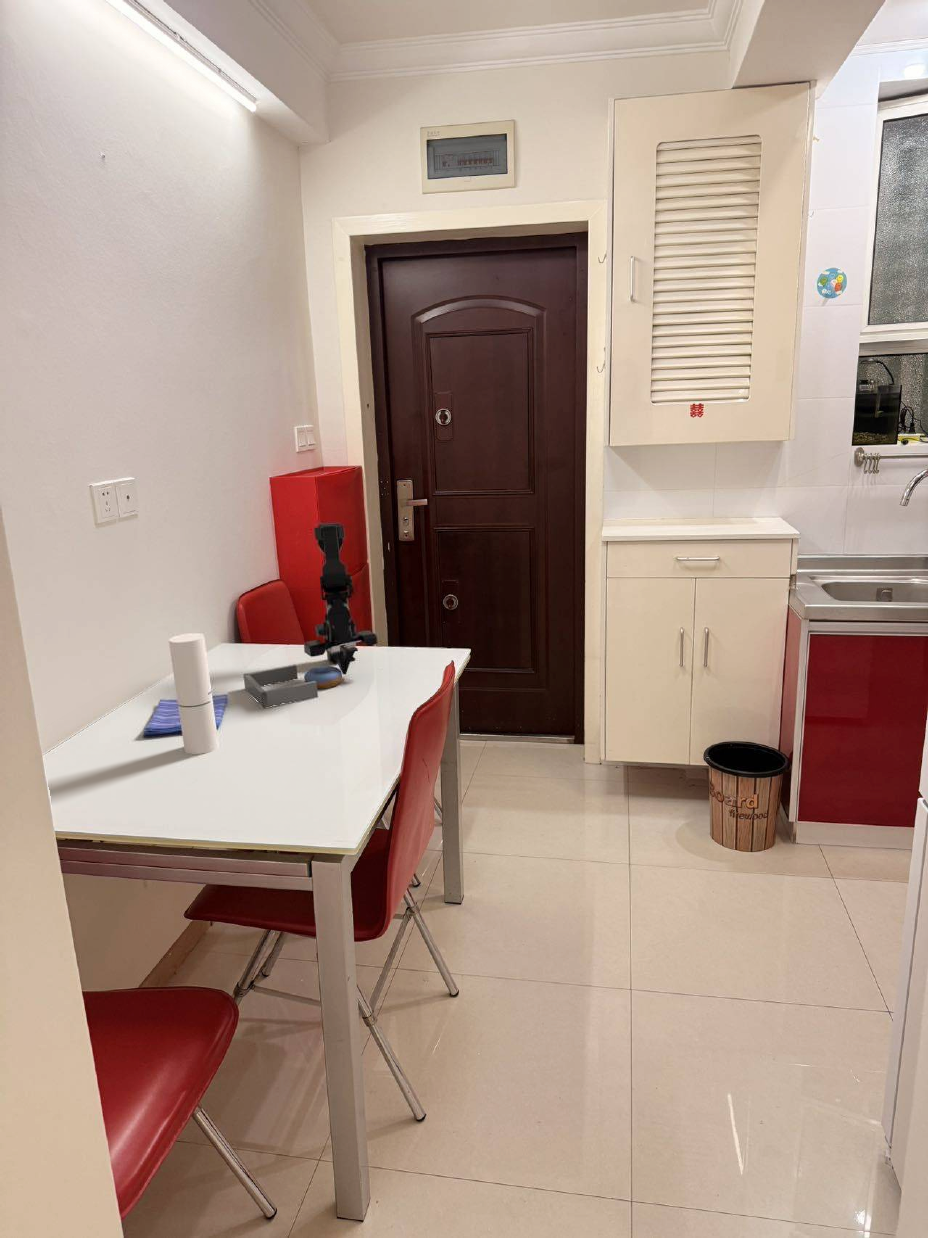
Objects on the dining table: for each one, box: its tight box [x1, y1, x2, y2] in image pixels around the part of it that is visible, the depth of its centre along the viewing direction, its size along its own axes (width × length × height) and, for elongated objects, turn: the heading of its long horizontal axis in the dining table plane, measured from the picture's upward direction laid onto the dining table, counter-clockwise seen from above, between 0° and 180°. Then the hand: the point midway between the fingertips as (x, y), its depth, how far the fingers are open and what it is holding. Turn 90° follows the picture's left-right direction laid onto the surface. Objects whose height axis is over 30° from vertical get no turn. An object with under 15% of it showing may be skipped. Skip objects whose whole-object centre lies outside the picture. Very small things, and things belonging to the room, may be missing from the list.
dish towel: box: [142, 694, 229, 739], centre depth 204 cm, size 17×24×3 cm
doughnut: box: [303, 665, 343, 690], centre depth 223 cm, size 10×10×5 cm
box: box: [243, 664, 319, 709], centre depth 217 cm, size 14×18×4 cm
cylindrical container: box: [168, 632, 220, 755], centre depth 181 cm, size 7×7×25 cm
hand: (344, 674), depth 225 cm, fingers closed
